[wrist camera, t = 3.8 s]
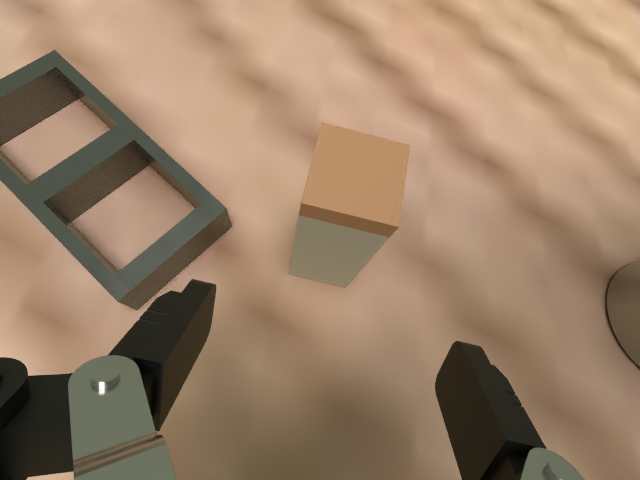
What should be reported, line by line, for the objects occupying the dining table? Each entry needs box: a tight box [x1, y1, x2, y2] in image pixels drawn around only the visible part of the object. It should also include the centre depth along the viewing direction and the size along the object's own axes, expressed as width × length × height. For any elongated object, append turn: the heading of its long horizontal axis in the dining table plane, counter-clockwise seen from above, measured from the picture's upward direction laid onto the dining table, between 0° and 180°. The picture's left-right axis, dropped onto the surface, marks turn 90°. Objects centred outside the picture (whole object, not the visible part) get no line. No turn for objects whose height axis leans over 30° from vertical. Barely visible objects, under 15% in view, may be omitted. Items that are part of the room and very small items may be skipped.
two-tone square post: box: [289, 123, 410, 288], centre depth 20 cm, size 4×4×11 cm
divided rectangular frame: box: [0, 50, 232, 310], centre depth 24 cm, size 8×17×3 cm, turn 48°
